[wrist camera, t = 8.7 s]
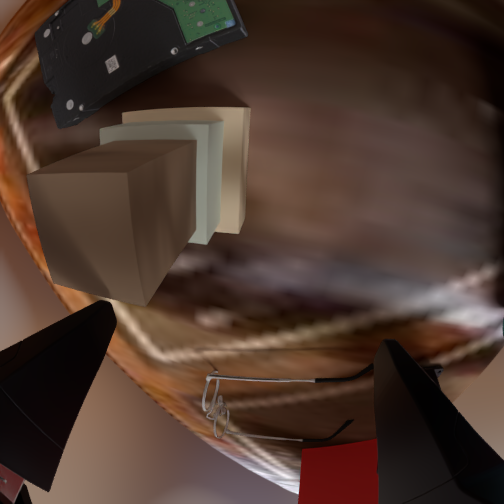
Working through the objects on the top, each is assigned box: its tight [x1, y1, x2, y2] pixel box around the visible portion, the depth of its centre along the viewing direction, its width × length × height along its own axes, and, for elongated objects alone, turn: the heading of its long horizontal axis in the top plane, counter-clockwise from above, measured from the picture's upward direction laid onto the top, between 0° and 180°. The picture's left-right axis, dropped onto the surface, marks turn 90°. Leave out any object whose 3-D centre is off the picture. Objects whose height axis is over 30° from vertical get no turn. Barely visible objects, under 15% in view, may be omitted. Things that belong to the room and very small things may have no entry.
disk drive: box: [35, 0, 248, 129], centre depth 12 cm, size 10×3×15 cm
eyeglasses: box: [202, 364, 374, 442], centre depth 28 cm, size 16×19×5 cm
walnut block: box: [27, 139, 197, 307], centre depth 10 cm, size 4×4×6 cm
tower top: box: [100, 120, 224, 244], centre depth 14 cm, size 6×6×3 cm
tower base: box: [122, 107, 251, 234], centre depth 17 cm, size 8×8×3 cm
